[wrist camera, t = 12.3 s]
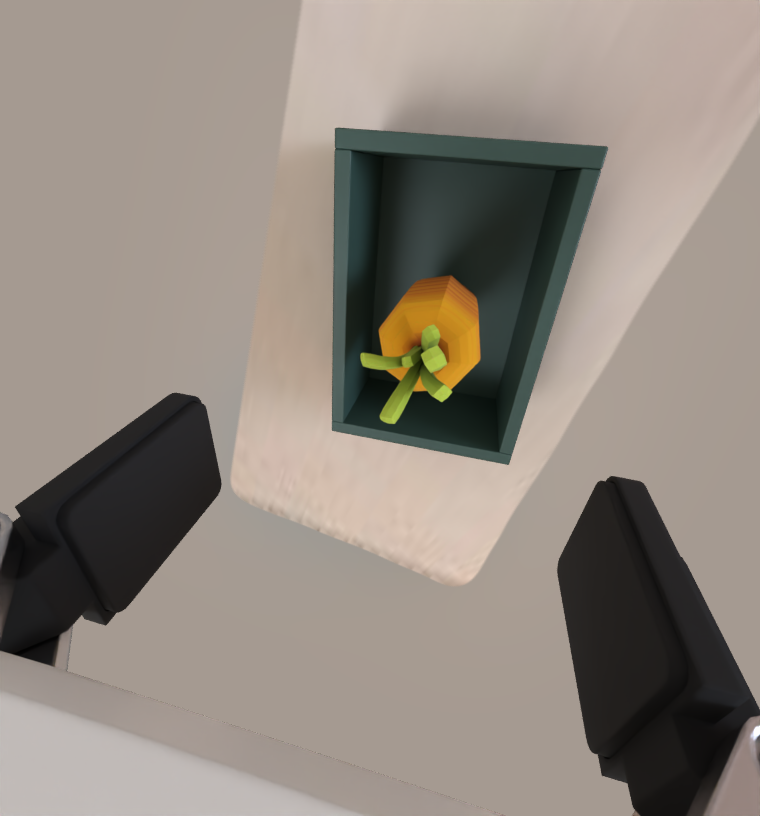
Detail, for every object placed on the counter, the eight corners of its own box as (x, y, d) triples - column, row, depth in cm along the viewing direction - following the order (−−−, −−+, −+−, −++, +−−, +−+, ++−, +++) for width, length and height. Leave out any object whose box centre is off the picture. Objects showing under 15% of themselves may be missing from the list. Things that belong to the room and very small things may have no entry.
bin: (374, 140, 24) (334, 127, 18) (573, 155, 22) (609, 146, 16) (361, 381, 33) (331, 431, 26) (503, 405, 31) (508, 465, 24)
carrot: (431, 337, 29) (390, 463, 16) (397, 276, 27) (322, 363, 14) (496, 305, 27) (507, 421, 14) (463, 237, 25) (442, 299, 12)
